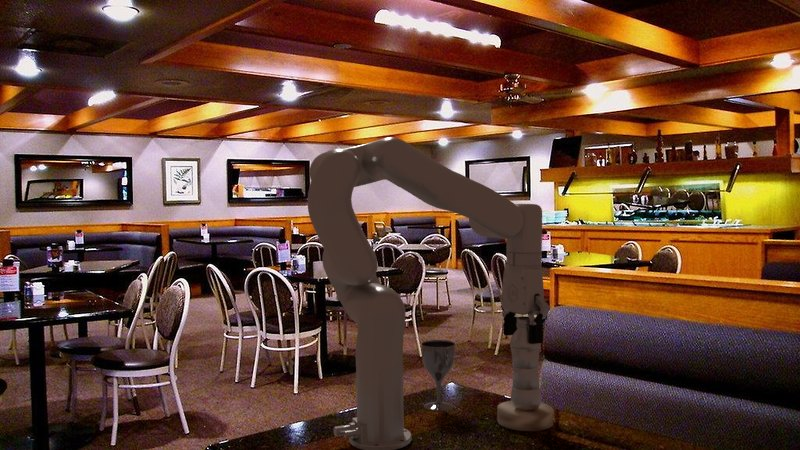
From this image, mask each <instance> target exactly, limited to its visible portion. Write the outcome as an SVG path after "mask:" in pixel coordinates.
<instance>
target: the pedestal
mask: <svg viewBox="0 0 800 450" xmlns="http://www.w3.org/2000/svg"><path fill="white" fill-rule="evenodd" d="M496 409H497V423H498V424H499V425H500V426H502V427H504V428H506V429H510V430H514V431H519V432H539V431H545V430H548V429H550V428H551V427H553V426H554V408H553V407H552V406H551V405H549V404H547V403H544V402H542V401H541V405H540V406H539V408H538V409H535V410H521V409H517V408H515V407H514V406H513V404H512V402H511V400H507V401H503V402H500V403H499V404H498V405H497V408H496Z"/></svg>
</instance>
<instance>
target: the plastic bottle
mask: <svg viewBox="0 0 800 450" xmlns="http://www.w3.org/2000/svg"><path fill="white" fill-rule="evenodd" d="M516 317H517V323H516V326H517V330H516V331H515V332H514V333H513V335H511V337H510V340H509V345H510V346H509V347H510V352H511V360H512V385H511V390H510V401H511V402H512V404H513V406H514V407H515V408H517V409H521V410H535V409H538V408H539V406H540V405H541V402H542V399H543V397H542V392H541V388H540V379H539V377H540V376H539V360H540V359H539V358H540V352H541V351H540V350H541V343H537V344H530V343H529V325H532V324H531V322H530V319H529V317H528V315H527V316H526V315H522V316H516Z"/></svg>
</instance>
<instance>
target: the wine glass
mask: <svg viewBox="0 0 800 450" xmlns="http://www.w3.org/2000/svg"><path fill="white" fill-rule="evenodd" d="M455 356H456V343H455V342H454V341H451V340H445V339H444V340H443V339H431V340H426V341H423V342H421V358H422V363H423V366H424V369H426V372H428V374H429V375H430V376H431V378H433V381H434V382H435V388H436V401H431V402H427V403H425V404H424V405H423V408H424V409H426V410H429V411H433V412H446V411H451V410H453V409H454V408H455V406H454V405H453V404H452V403H450V402H446V401H441V400H442V399H441V389H442V383H443V380H444V378H445V377H446V376H447V375H448V374H449V372H450V371H451V370H452V368H453V367H454V362H455V358H456V357H455Z"/></svg>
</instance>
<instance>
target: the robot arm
mask: <svg viewBox="0 0 800 450" xmlns="http://www.w3.org/2000/svg"><path fill="white" fill-rule="evenodd" d="M309 167H310V168H309V179H310V184H309V186H308V187H309V189H308V193H307V212H308V216H309V220H310V222H311V224H312V227H313V229H314V231H315V233H316V236H317V237H318V239H319V242H320V244H321V247H322V248H323V252H322V259H321V260H322V261H321V262H322V267H323V270H324V272H325V275H326V276H327V279H328V280H329V283H330V285H331V286H332V289H333V290H334V292H335V294H336V296H337V298H338V300H339V302H340V304H341V305H342V306H343V310H345V312H346V314H347V315H348V317H349V318H350V319H351V320H352V321H353V322H354V323H356V324H357V335H356V343H355V377H356V378H355V380H356V381H355V384H356V387H355V389H356V393H355V394H356V417H352V422H349V423H348V424H346V425H344V424H343V425H337V426H336V425H335V426H334V427H333V435H334V437H341V436H343V438H344V439H348V438H349V443H350V445H352V446H353V447H354V448H357V449H359V450H398V449H402V448H404V447H407V446H408V445H409V444H410V443H411V441H412V433H411V431H409V430H408V429H406V428H405V425H404V421H405V420H404V417H405V415H404V359H403V356H404V355H403V353H404V352H403V351H404V348H403V347H404V335H405V325H406V318H407V317H406V315H407V313H406V307H405V304H404V301H403V299H402V297H401V296H400V294H398V292H396V291H395V290H394V289H393V288H391V287H388V286H386V285H383V284H381V282H380V280H379V279H378V276H377V275H376V274H377V271H378V259H377V255H376V252H375V251H374V249H373V247H372V246H371V244H370V241H369V240H368V238H367V236H366V234H365V232H364V231H363V228H362V227H361V224H360V223H359V220H358V218H357V215H356V212H355V211H354V208H353V202H352V195H353V191H354V188H357V187H361V186H365V185H369V184H374V183H377V182H380V181H385V180H386V181H388V182H390V183H392V184H393V185H395V186H397V187H398V188H401V189H402V190H403V191H405V192H407V193H409V194H411V195H412V196H414V197H415V198H417V199H418V200H421V201H422V202H423V203H425V204H427V205H429V206H431V207H433V208H436V209H439V210H442V211H446V212H447V211H448V212H451V213H455V214H458V215H460V216H462V217H465V218H467V219H468V223H469V227H470V228H471V230H472V232H474V233H475V234H477V235H479V236H480V237H485V238H491V239H494V238H495V239H501V240H502V239H503V240H506V256H505V257H506V260H505V261H506V262H505V263H506V265H505V266H504V271H503V275H502V276H503V277H502V285H501V294H500V295H499V301H500V304H501V305H500V308H501V311H502V317H503V335H504V336H506V337H507V336H512V335H513V333H514V332H515V331H516V330H517V326H516V323H517V317H518V316H517V315H522V316H526V315H527V317H529V319H530V322H531V324H532V325H529V343H530V344H537V343H540V344H543V342H544V325H546V320H547V319H548V315H549V311H550V310H551V309H550V307H551V306H550V305H549V304H548V303H547V302H546V301H545V293H544V291H545V290H544V279H543V269H542V261H543V259H542V258H543V257H542V256H543V255H542V252H543V244H542V243H543V208H542V207H541V206H540V205H539V204H536V203H514V202H512V201H511V200H510V199H509V198H507V197H505V196H503V195H502V194H500V193H498V192H497V191H495V190H494V189H492V188H490V187H488V186H486V185H485V184H482V183H481V182H478V181H476V180H473V179H471V178H469V177H467V176H465V175H463V174H461V173H459V172H456V171H454V170H452V169H450V168H448V167H447V166H445V165H444V164H443V163H440V162H438V161H437V160H435V159H434V158H432V157H430V156H429V155H427V154H426V153H424V152H423V151H421V150H420V149H417V148H416V147H414V146H413V145H411V144H410V143H408V142H406V141H405V140H403V139H401V138H398V137H395V136H394V137H393V136H390V137H389V136H388V137H384V138H380V139H378V140H375V141H371V142H368V143H365V144H360V145H357V146H356V145H355V146H352V147H347V148H333V149H330V150H328V151H325V152H322V153H320V154H318V155H317V156H316V157H315V158H314V159H313V160H312V161H311V163H310V166H309Z"/></svg>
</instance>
